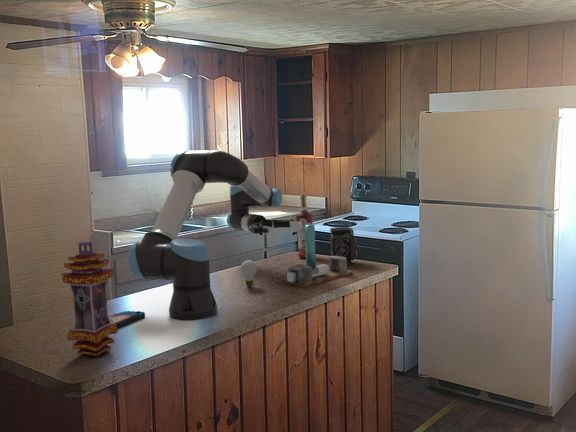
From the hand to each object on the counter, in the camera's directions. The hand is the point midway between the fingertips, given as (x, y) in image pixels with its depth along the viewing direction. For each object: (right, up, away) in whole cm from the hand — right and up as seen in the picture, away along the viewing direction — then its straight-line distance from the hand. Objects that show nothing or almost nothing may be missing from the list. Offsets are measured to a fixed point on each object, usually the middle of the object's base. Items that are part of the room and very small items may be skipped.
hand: (288, 228), depth 242 cm
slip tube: (+8, -18, -7) cm, 21 cm away
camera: (+23, -15, +21) cm, 35 cm away
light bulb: (-14, -21, -12) cm, 28 cm away
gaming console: (-54, -29, -52) cm, 80 cm away
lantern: (-51, -32, -75) cm, 96 cm away
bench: (+12, -19, -3) cm, 22 cm away
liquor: (+8, -14, +36) cm, 40 cm away
